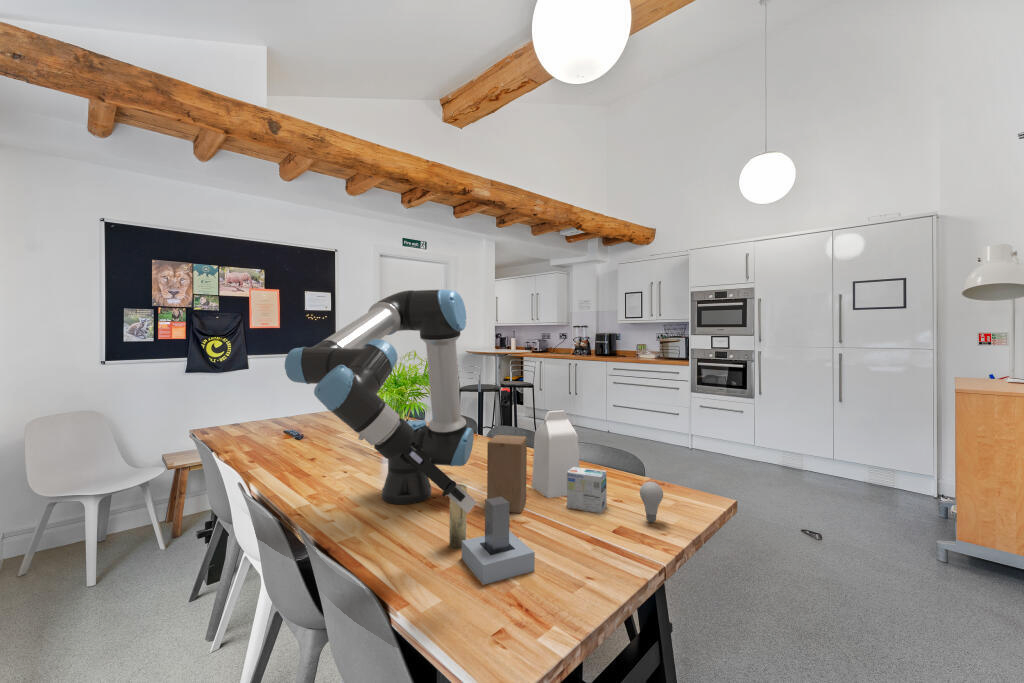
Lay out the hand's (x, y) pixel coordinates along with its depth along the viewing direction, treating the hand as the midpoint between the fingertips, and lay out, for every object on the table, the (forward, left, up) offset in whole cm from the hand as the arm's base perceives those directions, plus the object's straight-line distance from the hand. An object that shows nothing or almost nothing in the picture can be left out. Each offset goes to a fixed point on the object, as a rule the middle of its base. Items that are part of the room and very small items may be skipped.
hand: (459, 496), depth 92 cm
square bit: (+4, +8, -17) cm, 19 cm away
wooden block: (-15, +36, -17) cm, 43 cm away
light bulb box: (+4, +50, -17) cm, 53 cm away
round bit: (-9, +9, -17) cm, 21 cm away
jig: (+4, +8, -17) cm, 19 cm away
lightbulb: (+23, +51, -17) cm, 58 cm away
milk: (-11, +57, -17) cm, 61 cm away
